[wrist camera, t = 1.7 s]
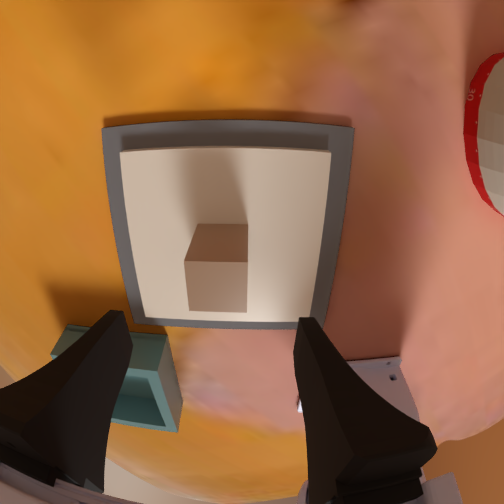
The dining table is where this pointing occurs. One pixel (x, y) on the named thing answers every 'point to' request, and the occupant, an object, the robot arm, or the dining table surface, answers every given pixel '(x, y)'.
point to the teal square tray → (142, 382)
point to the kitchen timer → (486, 131)
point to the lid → (226, 230)
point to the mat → (232, 135)
